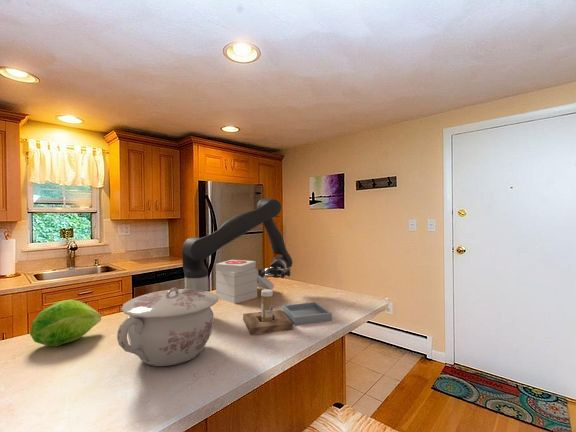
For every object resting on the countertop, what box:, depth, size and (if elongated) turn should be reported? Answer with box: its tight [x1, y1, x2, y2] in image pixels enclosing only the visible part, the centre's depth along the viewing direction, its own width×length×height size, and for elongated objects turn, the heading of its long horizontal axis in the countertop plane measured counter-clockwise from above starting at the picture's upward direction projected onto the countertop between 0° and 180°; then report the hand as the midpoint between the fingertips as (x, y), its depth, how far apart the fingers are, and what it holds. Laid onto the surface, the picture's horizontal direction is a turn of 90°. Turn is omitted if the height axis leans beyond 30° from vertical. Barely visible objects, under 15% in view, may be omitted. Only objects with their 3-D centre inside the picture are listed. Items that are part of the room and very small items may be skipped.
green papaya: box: [29, 299, 102, 347], centre depth 102 cm, size 15×20×14 cm
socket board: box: [242, 309, 294, 336], centre depth 116 cm, size 16×16×2 cm
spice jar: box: [260, 288, 274, 322], centre depth 116 cm, size 5×5×14 cm
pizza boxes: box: [215, 259, 275, 305], centre depth 158 cm, size 19×30×18 cm, turn 139°
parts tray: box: [281, 301, 333, 326], centre depth 126 cm, size 16×16×3 cm
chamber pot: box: [116, 286, 219, 367], centre depth 91 cm, size 28×28×21 cm
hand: (272, 275), depth 127 cm, fingers open, 8 cm apart
